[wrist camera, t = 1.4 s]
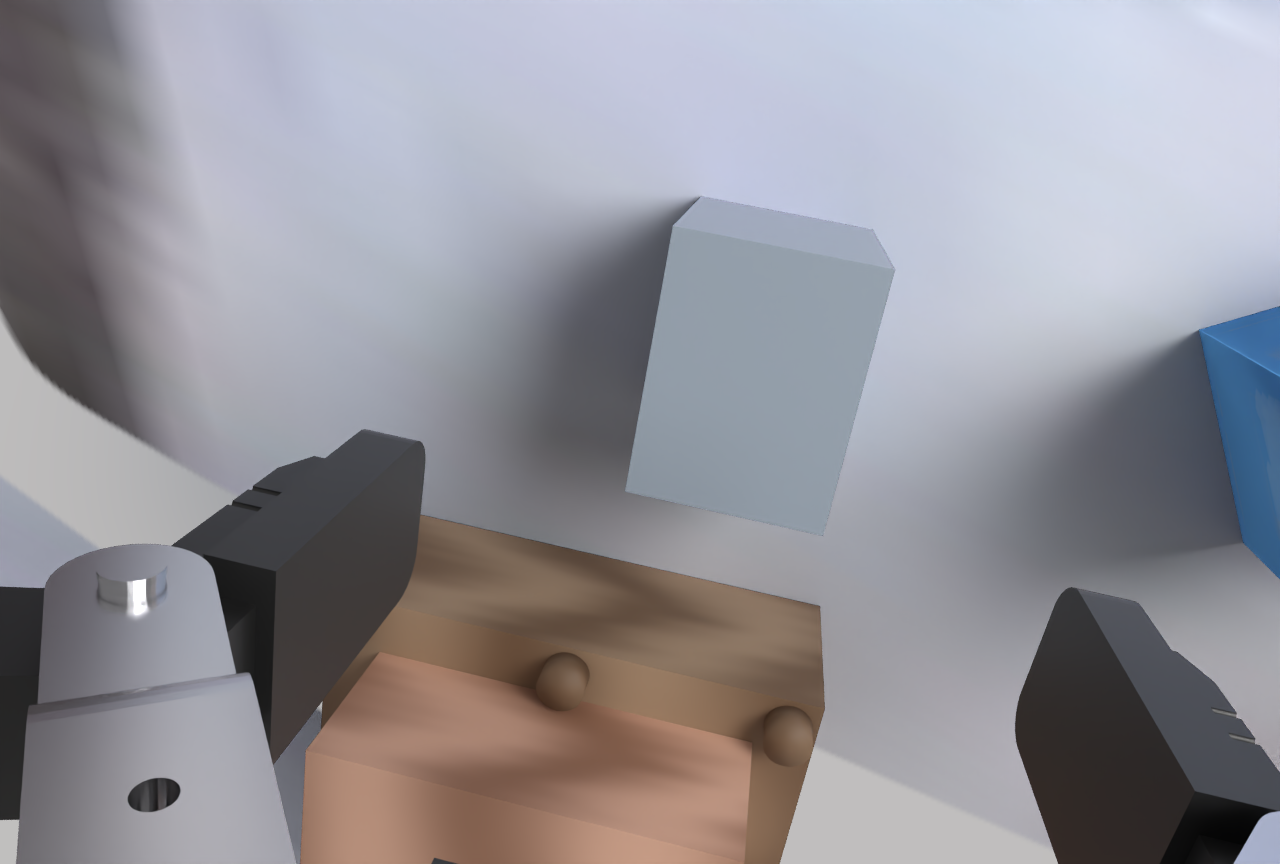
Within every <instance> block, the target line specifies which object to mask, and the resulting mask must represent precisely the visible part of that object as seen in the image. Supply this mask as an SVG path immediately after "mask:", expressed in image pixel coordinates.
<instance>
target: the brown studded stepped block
mask: <svg viewBox="0 0 1280 864" xmlns="http://www.w3.org/2000/svg"><path fill="white" fill-rule="evenodd" d="M824 710H825V702H824V681H823V660H822V639H821V617H820V606H816V605H812V604H808V603H803V602H799V601H794V600H790V599H786V598H781V597H777V596H773V595H768V594H764V593H760V592H755V591H751V590H746V589H742V588H738V587H733V586H729V585H725V584H720V583H716V582H712V581H707V580H703V579H698V578H694V577H690V576H685V575H681V574H677V573H672V572H668V571H664V570H659V569H655V568H651V567H646V566H642V565H637V564H633V563H629V562H624V561H620V560H616V559H611V558H607V557H603V556H598V555H594V554H589V553H585V552H581V551H576V550H572V549H568V548H563V547H559V546H555V545H550V544H546V543H541V542H537V541H533V540H528V539H524V538H520V537H515V536H511V535H507V534H502V533H498V532H493V531H489V530H485V529H480V528H476V527H472V526H467V525H463V524H459V523H454V522H450V521H446V520H441V519H437V518H432V517H428V516H424V515H420V523H419V533H418V544H417V553H416V559H415V564H414V568H413V572H412V575H411V578H410V581H409V583H408V586H407V588H406V590H405V592H404V594H403V596H402V598H401V599H400V601H399V602H398V603H397V605H396V606H395V607H394V608H393V610H392V611H391V612H390V614H389V615H388V616H387V618H386V619H385V620H384V621H383V623H382V624H381V625H380V627H379V628H378V629H377V631H376V632H375V633H374V634H373V636H372V637H371V638H370V640H369V641H368V642H367V644H366V645H365V646H364V647H363V649H362V650H361V651H360V653H359V654H358V655H357V657H356V658H355V659H354V660H353V662H352V663H351V664H350V666H349V667H348V668H347V670H346V671H345V672H344V673H343V675H342V676H341V677H340V679H339V680H338V681H337V683H336V684H335V685H334V686H333V688H332V689H331V690H330V692H329V693H328V694H327V695H326V697H325V698H324V699H323V703H322V721H321V731H320V732H319V733H318V735H317V736H316V737H315V739H314V740H313V741H312V743H311V744H310V745H309V747H308V748H307V749H306V756H305V776H304V797H303V817H302V837H301V858H300V864H431V863H432V861H433V859H434V858H438V859H442V860H445V861H449V862H453V863H457V864H779V863H780V860H781V857H782V853H783V850H784V847H785V843H786V840H787V836H788V833H789V829H790V826H791V823H792V819H793V816H794V812H795V809H796V805H797V802H798V798H799V795H800V792H801V788H802V785H803V781H804V778H805V775H806V771H807V768H808V764H809V761H810V758H811V754H812V751H813V747H814V744H815V741H816V737H817V734H818V730H819V727H820V723H821V720H822V717H823V713H824Z"/></svg>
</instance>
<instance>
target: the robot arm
mask: <svg viewBox="0 0 1280 864" xmlns="http://www.w3.org/2000/svg"><path fill="white" fill-rule="evenodd" d="M424 471H425V449H424V446H423V444H422V443H421V442H420V441H416V440H411V439H407V438H402V437H398V436H393V435H389V434H384V433H380V432H375V431H371V430H366V429H364V430H361V431H360V432H358V433H357V434H356V435H354V436H353V437H352V438H351V439H349V440H348V441H347V442H345V443H344V444H343V445H342V446H340V447H339V448H338V449H337V450H335V451H334V452H333V453H331V454H330V455H329V456H328V457H326V458H320V457H316V456H313V457H310V458H307V459H304V460H301V461H298V462H295V463H292V464H289V465H285V466H282V467H279V468H277V469H276V470H274V471H273V472H271V473H270V474H269V475H267V476H266V477H265V478H263V479H262V480H261V481H259V482H258V483H256V484H255V485H254V486H253V489H252V490H247V491H245V492H244V493H243V494H241V495H240V496H239V497H237V498H236V499H235V500H233V503H232V505H226V506H225V507H224V508H222V509H221V510H219V511H218V512H217V513H215V514H214V515H213V516H211V517H210V518H209V519H207V520H206V521H205V522H203V523H202V524H200V525H199V526H198V527H196V528H195V529H193V530H192V531H191V532H189V533H188V534H187V535H185V536H184V537H183V538H181V539H180V540H178V541H177V542H176V543H174V544H173V545H172V546H167V545H159V544H130V545H122V546H114V547H109V548H104V549H100V550H97V551H93V552H90V553H87V554H84V555H82V556H79V557H77V558H75V559H73V560H71V561H69V562H67V563H65V564H64V565H63V566H61V567H60V568H58V569H57V570H56V571H55V572H54V573H53V574H52V575H51V576H50V578H49V579H48V581H47V582H46V585H45V588H20V587H0V820H19V832H18V846H17V860H16V864H296V860H295V855H294V851H293V847H292V843H291V839H290V834H289V830H288V826H287V822H286V818H285V813H284V809H283V805H282V801H281V797H280V792H279V788H278V784H277V780H276V776H275V771H274V767H273V764H274V763H275V762H276V760H277V759H278V758H279V757H280V755H281V754H282V753H283V751H284V750H285V749H286V747H287V746H288V745H289V744H290V742H291V741H292V740H293V738H294V737H295V736H296V734H297V733H298V732H299V731H300V729H301V728H302V727H303V725H304V724H305V723H306V721H307V720H308V719H309V718H310V716H311V715H312V714H313V712H314V711H315V710H316V708H317V707H318V706H319V705H320V703H321V702H322V701H323V699H324V698H325V697H326V695H327V694H328V693H329V692H330V690H331V689H332V688H333V686H334V685H335V684H336V683H337V681H338V680H339V679H340V677H341V676H342V675H343V673H344V672H345V671H346V670H347V668H348V667H349V666H350V664H351V663H352V662H353V660H354V659H355V658H356V657H357V655H358V654H359V653H360V651H361V650H362V649H363V647H364V646H365V645H366V644H367V642H368V641H369V640H370V638H371V637H372V636H373V634H374V633H375V632H376V631H377V629H378V628H379V627H380V625H381V624H382V623H383V621H384V620H385V619H386V618H387V616H388V615H389V614H390V612H391V611H392V610H393V608H394V607H395V606H396V605H397V603H398V602H399V601H400V599H401V598H402V596H403V594H404V592H405V590H406V588H407V586H408V583H409V581H410V578H411V575H412V572H413V568H414V564H415V559H416V553H417V544H418V533H419V523H420V513H421V502H422V492H423V481H424ZM1236 714H1237V713H1236V711H1235V710H1234V709H1233V707H1232V706H1231V704H1230V703H1229V702H1228V700H1227V699H1226V698H1225V696H1224V695H1223V693H1222V692H1221V691H1220V689H1219V688H1218V686H1217V685H1216V684H1215V682H1213V681H1212V680H1211V679H1210V678H1209V677H1207V676H1206V675H1205V674H1204V673H1202V672H1201V671H1200V670H1199V669H1198V668H1196V667H1195V666H1194V665H1193V664H1191V663H1190V662H1189V661H1188V660H1186V659H1185V658H1184V657H1183V656H1182V655H1180V654H1179V653H1178V652H1175V651H1172V650H1171V649H1170V648H1169V646H1168V645H1167V643H1166V642H1165V640H1164V639H1163V637H1162V636H1161V634H1160V633H1159V631H1158V630H1157V629H1156V627H1155V626H1154V624H1153V623H1152V621H1151V620H1150V618H1149V617H1148V615H1147V614H1146V613H1145V611H1144V610H1143V608H1142V607H1141V606H1140V604H1139V603H1137V602H1135V601H1131V600H1127V599H1122V598H1118V597H1113V596H1109V595H1104V594H1100V593H1095V592H1091V591H1086V590H1082V589H1077V588H1072V587H1071V588H1068V589H1066V590H1065V591H1064V592H1063V593H1062V594H1061V595H1060V597H1059V598H1058V600H1057V602H1056V604H1055V606H1054V609H1053V611H1052V614H1051V616H1050V619H1049V621H1048V624H1047V627H1046V629H1045V632H1044V634H1043V637H1042V640H1041V642H1040V645H1039V647H1038V650H1037V653H1036V655H1035V658H1034V660H1033V663H1032V665H1031V668H1030V671H1029V673H1028V676H1027V678H1026V681H1025V684H1024V686H1023V689H1022V691H1021V694H1020V697H1019V701H1018V706H1017V711H1016V721H1015V734H1016V742H1017V746H1018V750H1019V753H1020V756H1021V758H1022V761H1023V764H1024V767H1025V770H1026V773H1027V776H1028V779H1029V781H1030V784H1031V787H1032V790H1033V793H1034V796H1035V799H1036V801H1037V804H1038V807H1039V810H1040V813H1041V816H1042V819H1043V821H1044V824H1045V827H1046V830H1047V833H1048V836H1049V839H1050V842H1051V844H1052V847H1053V850H1054V853H1055V856H1056V858H1057V861H1058V864H1280V772H1279V771H1278V770H1277V768H1276V767H1275V765H1274V764H1273V763H1272V761H1271V760H1270V758H1269V757H1268V756H1267V754H1266V753H1265V752H1264V750H1263V749H1262V747H1261V746H1260V745H1256V744H1255V738H1254V736H1253V735H1252V734H1251V732H1250V731H1249V729H1248V728H1247V727H1246V725H1245V724H1244V722H1243V721H1242V720H1241V719H1238V718H1236ZM431 864H457V863H453V862H449V861H445V860H442V859H438V858H434V859H433V861H432V863H431Z"/></svg>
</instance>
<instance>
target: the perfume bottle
mask: <svg viewBox="0 0 1280 864" xmlns="http://www.w3.org/2000/svg"><path fill="white" fill-rule="evenodd" d="M1199 332H1200V337H1201V342H1202V347H1203V351H1204V356H1205V361H1206V366H1207V371H1208V375H1209V380H1210V385H1211V390H1212V395H1213V400H1214V404H1215V409H1216V414H1217V419H1218V424H1219V429H1220V433H1221V438H1222V443H1223V448H1224V453H1225V457H1226V462H1227V467H1228V472H1229V477H1230V482H1231V486H1232V491H1233V496H1234V501H1235V506H1236V510H1237V515H1238V520H1239V525H1240V530H1241V535H1242V539H1243V543H1244V544H1245V545H1246V546H1247V547H1248V548H1249V549H1250V550H1251V551H1252V552H1253V553H1254V554H1255V555H1256V556H1257V557H1258V558H1259V559H1260V560H1261V561H1262V562H1263V563H1264V564H1265V565H1266V566H1267V567H1268V568H1269V569H1270V570H1271V571H1272V572H1273V573H1274V574H1275V575H1276V576H1277V577H1278V578H1279V579H1280V306H1279V307H1276V308H1272V309H1269V310H1265V311H1262V312H1259V313H1255V314H1252V315H1248V316H1245V317H1241V318H1238V319H1234V320H1231V321H1228V322H1224V323H1221V324H1217V325H1214V326H1210V327H1207V328H1203V329H1200V330H1199Z"/></svg>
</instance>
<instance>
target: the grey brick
mask: <svg viewBox="0 0 1280 864" xmlns="http://www.w3.org/2000/svg"><path fill="white" fill-rule="evenodd" d="M894 272H895V268H894V267H893V265H892V263H891V261H890V259H889V258H888V256H887V254H886V252H885V250H884V249H883V247H882V245H881V243H880V242H879V240H878V238H877V236H876V234H875V233H874V231H873V230H872V229H867V228H862V227H857V226H852V225H847V224H842V223H836V222H831V221H826V220H821V219H816V218H811V217H805V216H800V215H795V214H790V213H785V212H780V211H774V210H769V209H764V208H759V207H754V206H749V205H743V204H738V203H733V202H728V201H723V200H718V199H712V198H707V197H702V196H701V197H700V198H699V199H698V200H697V201H696V202H695V203H694V204H693V205H692V206H691V208H690V209H689V210H688V211H687V212H686V213H685V214H684V215H683V216H682V217H681V218H680V219H679V220H678V221H677V222H676V223H675V224H674V225H673V228H672V234H671V239H670V245H669V250H668V256H667V261H666V267H665V272H664V278H663V284H662V289H661V295H660V300H659V306H658V311H657V317H656V322H655V328H654V333H653V339H652V344H651V350H650V355H649V361H648V367H647V372H646V378H645V383H644V389H643V394H642V400H641V405H640V411H639V416H638V422H637V427H636V433H635V439H634V444H633V450H632V455H631V461H630V466H629V472H628V477H627V483H626V488H625V492H629V493H633V494H638V495H642V496H646V497H651V498H655V499H660V500H664V501H669V502H673V503H678V504H682V505H687V506H691V507H696V508H700V509H704V510H709V511H713V512H718V513H722V514H727V515H731V516H736V517H740V518H745V519H749V520H754V521H758V522H762V523H767V524H771V525H776V526H780V527H785V528H789V529H794V530H798V531H803V532H807V533H812V534H816V535H820V536H823V534H824V531H825V527H826V523H827V519H828V516H829V512H830V508H831V505H832V501H833V497H834V494H835V490H836V486H837V483H838V479H839V475H840V471H841V468H842V464H843V460H844V457H845V453H846V449H847V446H848V442H849V438H850V434H851V431H852V427H853V423H854V420H855V416H856V412H857V409H858V405H859V401H860V398H861V394H862V390H863V386H864V383H865V379H866V375H867V372H868V368H869V364H870V361H871V357H872V353H873V350H874V346H875V342H876V338H877V335H878V331H879V327H880V324H881V320H882V316H883V313H884V309H885V305H886V302H887V298H888V294H889V290H890V287H891V283H892V279H893V276H894Z"/></svg>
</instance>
